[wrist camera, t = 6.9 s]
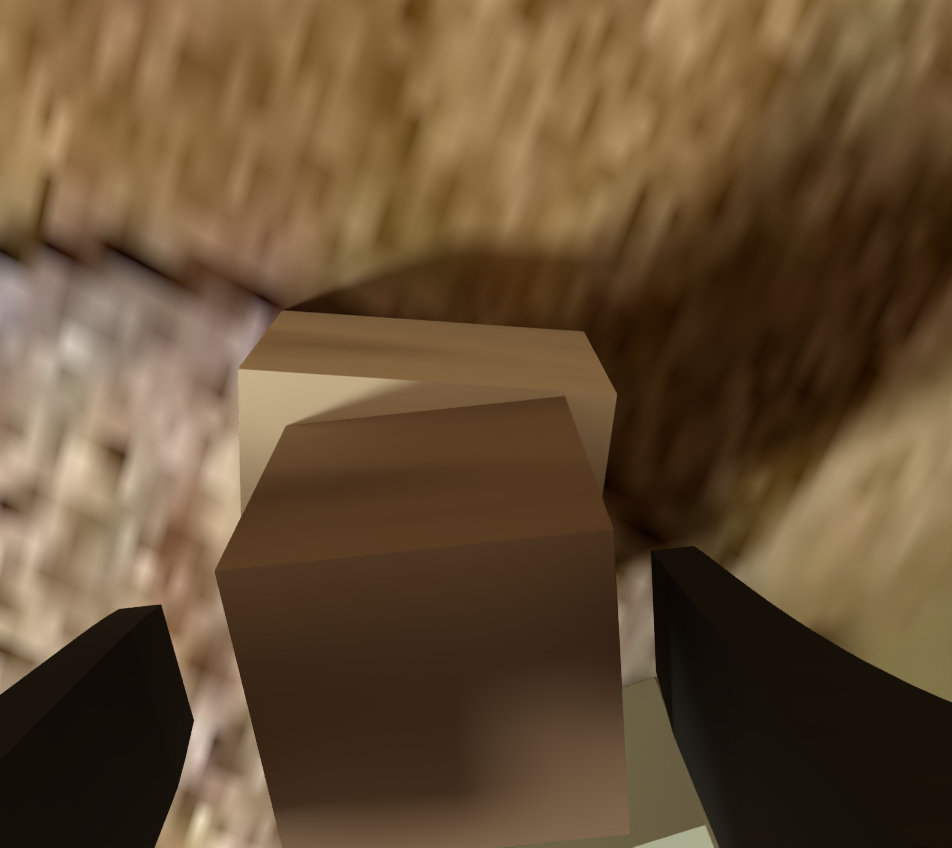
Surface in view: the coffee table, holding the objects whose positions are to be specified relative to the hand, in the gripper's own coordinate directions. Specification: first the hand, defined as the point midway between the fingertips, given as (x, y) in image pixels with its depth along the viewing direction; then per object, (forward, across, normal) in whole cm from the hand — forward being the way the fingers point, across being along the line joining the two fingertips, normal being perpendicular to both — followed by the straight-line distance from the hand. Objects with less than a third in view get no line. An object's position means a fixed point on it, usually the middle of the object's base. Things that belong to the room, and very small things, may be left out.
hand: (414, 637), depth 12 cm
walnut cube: (+3, 0, 0) cm, 3 cm away
